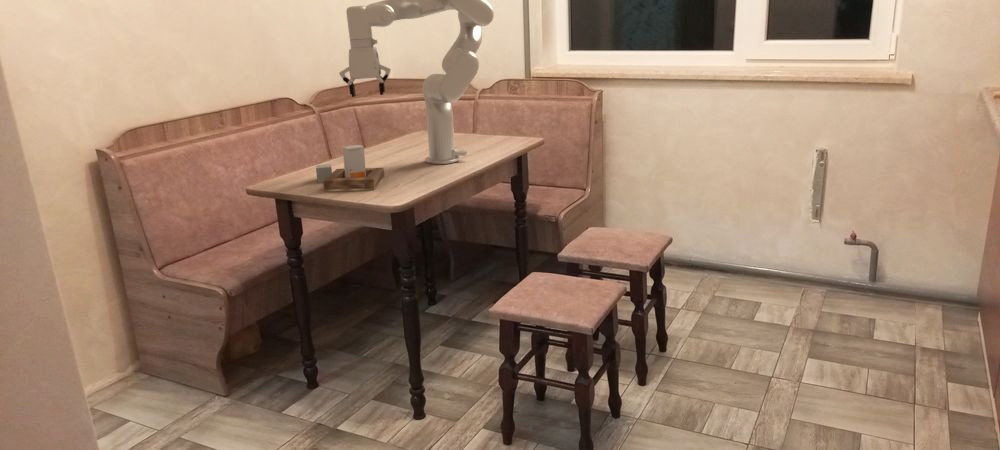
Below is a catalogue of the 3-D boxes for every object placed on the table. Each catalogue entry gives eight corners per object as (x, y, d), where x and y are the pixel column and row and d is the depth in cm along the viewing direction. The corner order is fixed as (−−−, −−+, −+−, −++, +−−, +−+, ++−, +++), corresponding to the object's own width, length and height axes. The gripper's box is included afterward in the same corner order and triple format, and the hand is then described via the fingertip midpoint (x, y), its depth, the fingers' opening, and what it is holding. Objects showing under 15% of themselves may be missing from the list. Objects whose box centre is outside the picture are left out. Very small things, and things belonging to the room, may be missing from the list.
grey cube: (332, 178, 260) (331, 164, 259) (332, 181, 256) (331, 167, 254) (317, 179, 259) (316, 165, 258) (317, 182, 255) (315, 168, 253)
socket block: (384, 177, 258) (383, 167, 257) (374, 190, 242) (373, 179, 241) (337, 178, 259) (336, 168, 258) (324, 191, 243) (323, 180, 242)
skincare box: (349, 185, 247) (345, 148, 244) (345, 182, 251) (342, 146, 247) (367, 182, 250) (364, 146, 246) (363, 179, 253) (360, 144, 250)
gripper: (389, 41, 258) (394, 92, 263) (338, 45, 258) (344, 95, 264) (385, 43, 251) (391, 95, 256) (333, 47, 251) (340, 98, 257)
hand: (367, 95), depth 260 cm, fingers open, 9 cm apart
